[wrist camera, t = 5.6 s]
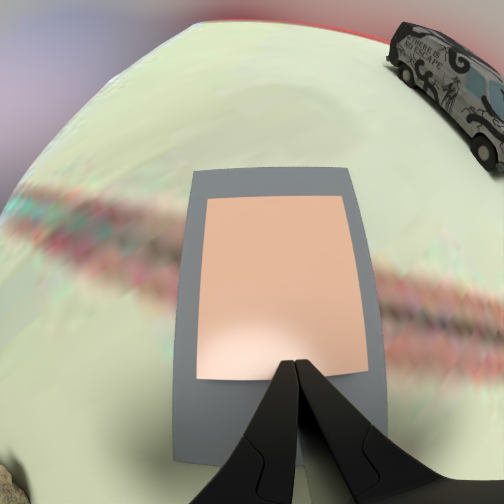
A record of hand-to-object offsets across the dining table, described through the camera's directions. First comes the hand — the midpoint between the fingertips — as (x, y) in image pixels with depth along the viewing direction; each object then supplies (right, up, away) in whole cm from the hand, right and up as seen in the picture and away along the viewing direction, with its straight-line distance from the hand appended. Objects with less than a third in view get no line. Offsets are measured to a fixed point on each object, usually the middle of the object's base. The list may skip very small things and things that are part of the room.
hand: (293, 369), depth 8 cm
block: (0, -3, +4) cm, 5 cm away
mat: (0, +1, +8) cm, 8 cm away
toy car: (+27, +23, +18) cm, 40 cm away
